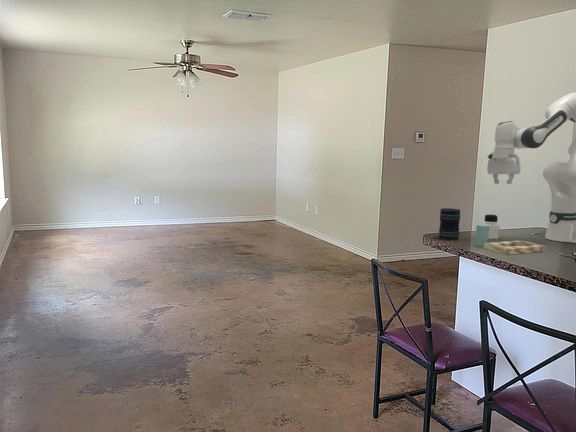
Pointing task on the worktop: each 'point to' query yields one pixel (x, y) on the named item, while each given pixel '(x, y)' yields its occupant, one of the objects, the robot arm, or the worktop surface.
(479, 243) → the post
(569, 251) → the worktop surface
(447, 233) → the storage jar
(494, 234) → the medicine bottle
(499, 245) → the keyhole board
